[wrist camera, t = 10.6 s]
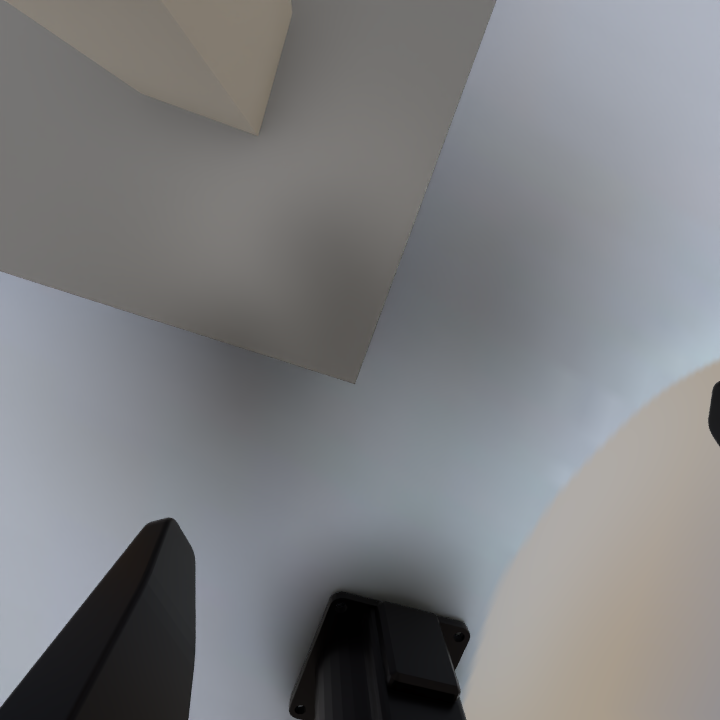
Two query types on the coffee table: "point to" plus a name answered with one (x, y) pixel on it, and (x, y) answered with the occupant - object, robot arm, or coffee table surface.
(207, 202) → the socket board
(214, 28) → the plug
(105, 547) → the coffee table surface
